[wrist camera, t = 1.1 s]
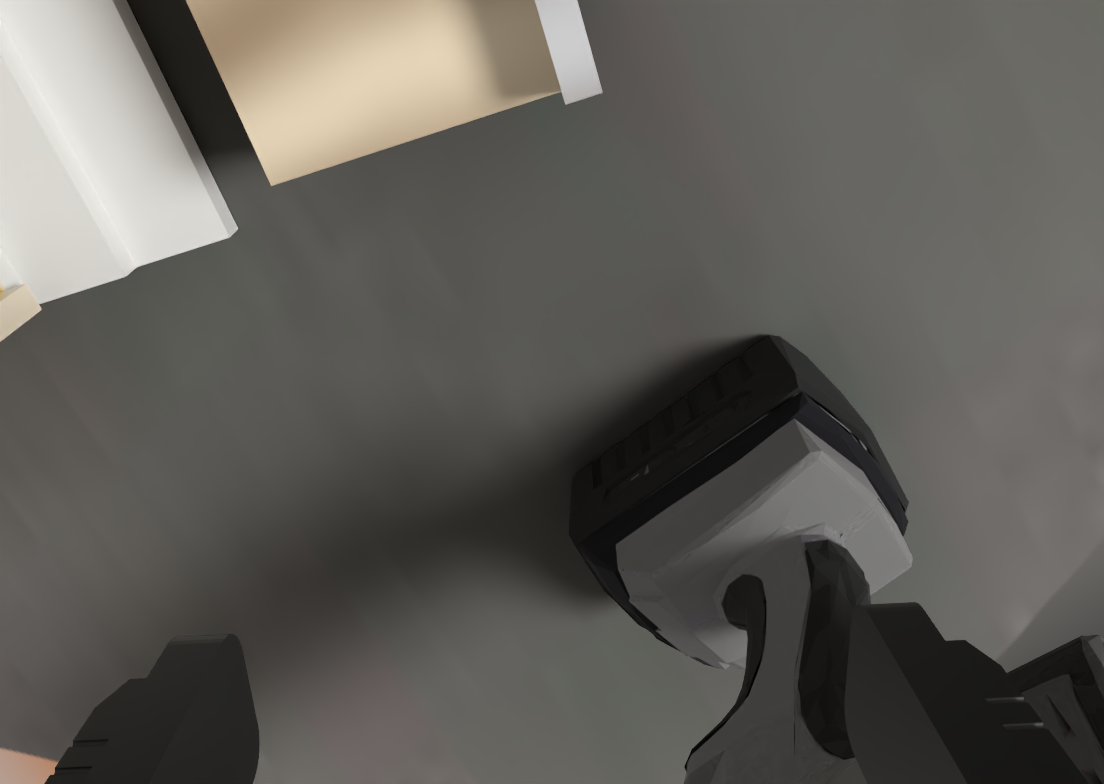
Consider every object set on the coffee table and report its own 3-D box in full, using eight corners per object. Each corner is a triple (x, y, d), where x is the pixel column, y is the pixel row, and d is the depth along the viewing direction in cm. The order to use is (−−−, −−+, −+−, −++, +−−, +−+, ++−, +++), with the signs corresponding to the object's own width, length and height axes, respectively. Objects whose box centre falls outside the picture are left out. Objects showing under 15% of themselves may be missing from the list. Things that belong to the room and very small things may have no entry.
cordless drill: (383, 607, 41) (198, 1397, 19) (834, 278, 34) (1371, 938, 12) (499, 701, 44) (452, 1484, 22) (938, 414, 37) (1530, 1155, 15)
